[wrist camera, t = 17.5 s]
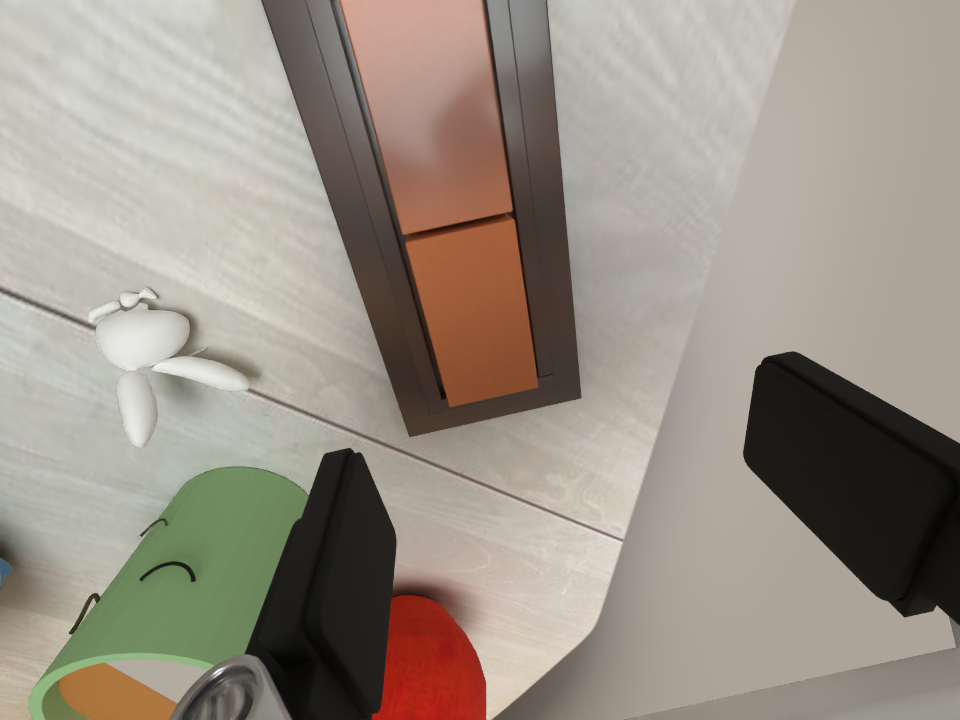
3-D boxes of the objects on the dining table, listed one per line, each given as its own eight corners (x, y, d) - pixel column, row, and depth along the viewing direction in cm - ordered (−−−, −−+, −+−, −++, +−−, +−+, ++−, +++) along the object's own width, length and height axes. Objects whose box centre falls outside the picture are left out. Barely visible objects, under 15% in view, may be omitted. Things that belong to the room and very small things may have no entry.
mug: (258, 442, 28) (154, 620, 17) (344, 534, 33) (303, 719, 22) (106, 512, 29) (-82, 720, 18) (210, 592, 34) (109, 794, 23)
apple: (474, 553, 35) (497, 755, 23) (477, 633, 41) (498, 831, 29) (333, 569, 34) (283, 790, 22) (355, 649, 39) (324, 863, 28)
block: (408, 228, 22) (404, 242, 18) (500, 208, 22) (514, 218, 18) (446, 373, 26) (449, 408, 22) (523, 356, 26) (539, 388, 22)
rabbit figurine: (176, 261, 22) (253, 386, 22) (193, 290, 26) (259, 399, 26) (38, 304, 19) (125, 448, 19) (78, 331, 23) (152, 452, 23)
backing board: (242, -77, 17) (172, -164, 12) (527, -134, 17) (565, -242, 12) (409, 427, 29) (406, 479, 24) (576, 389, 29) (604, 434, 24)
